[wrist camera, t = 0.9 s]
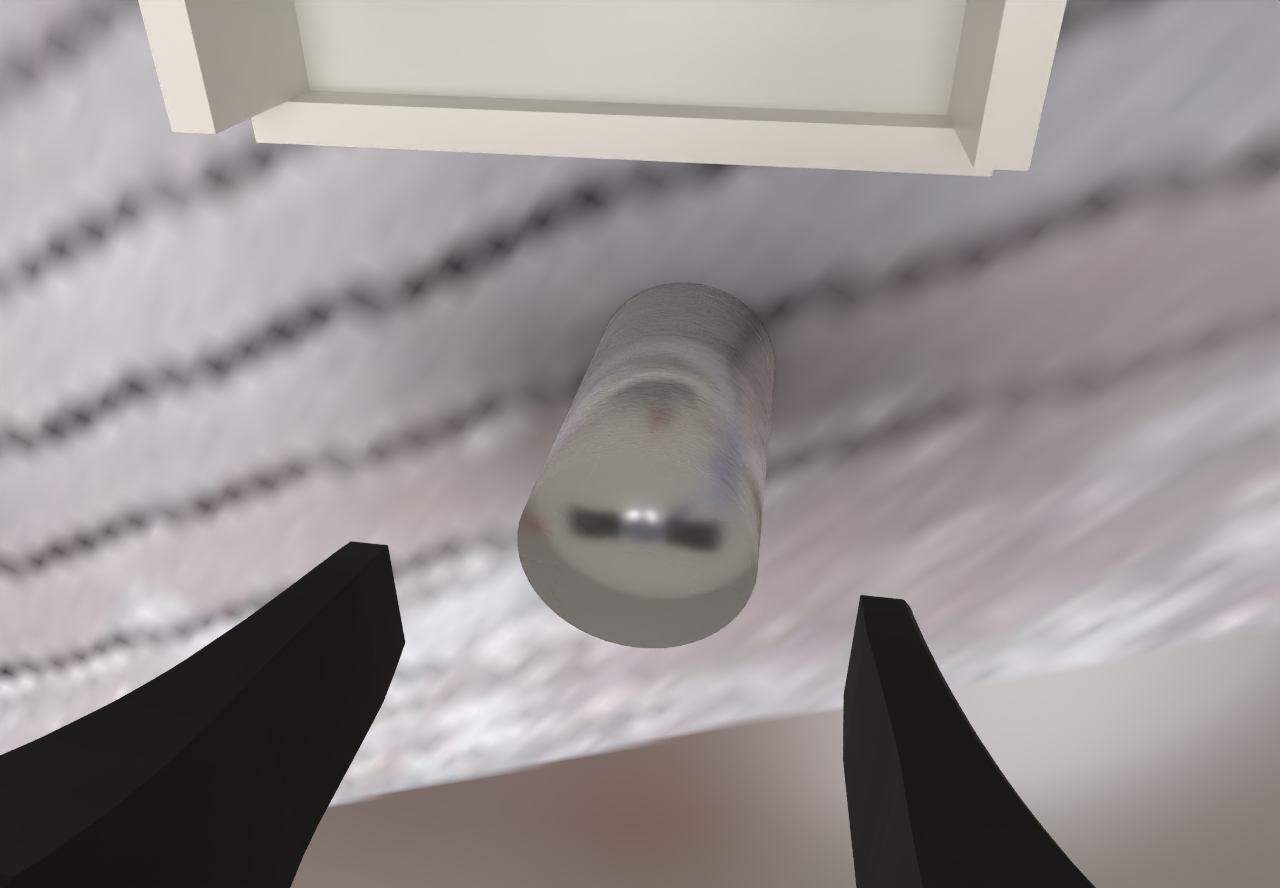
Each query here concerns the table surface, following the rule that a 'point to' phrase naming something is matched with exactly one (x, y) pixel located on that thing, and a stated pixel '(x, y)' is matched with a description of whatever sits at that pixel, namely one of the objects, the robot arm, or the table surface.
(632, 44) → the walled box
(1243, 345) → the table surface
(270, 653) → the robot arm
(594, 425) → the metal plug
